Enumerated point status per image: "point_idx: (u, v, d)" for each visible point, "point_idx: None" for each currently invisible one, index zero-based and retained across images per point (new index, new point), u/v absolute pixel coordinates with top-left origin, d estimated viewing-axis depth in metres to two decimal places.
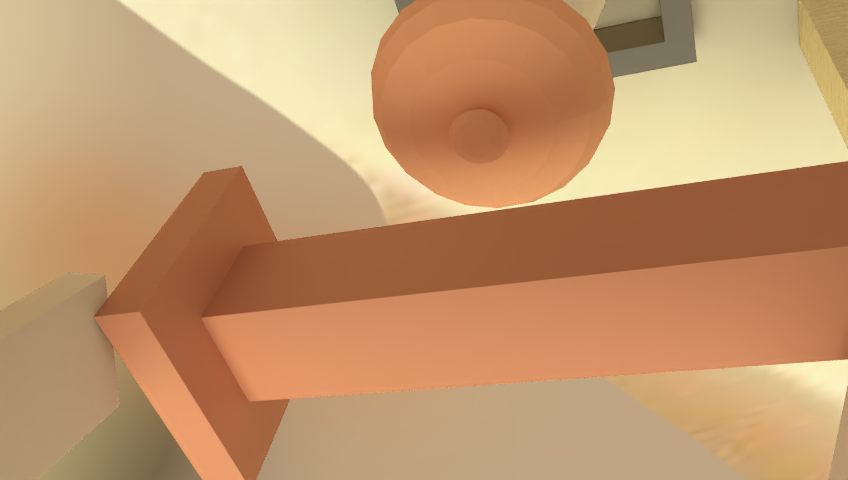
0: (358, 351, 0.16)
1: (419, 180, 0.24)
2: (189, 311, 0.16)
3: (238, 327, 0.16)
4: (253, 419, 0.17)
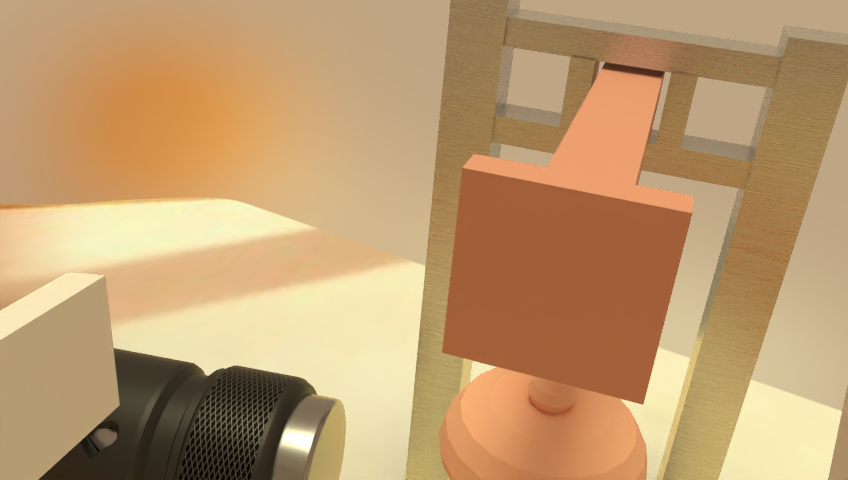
0: None
1: (584, 474, 0.24)
2: None
3: None
4: None
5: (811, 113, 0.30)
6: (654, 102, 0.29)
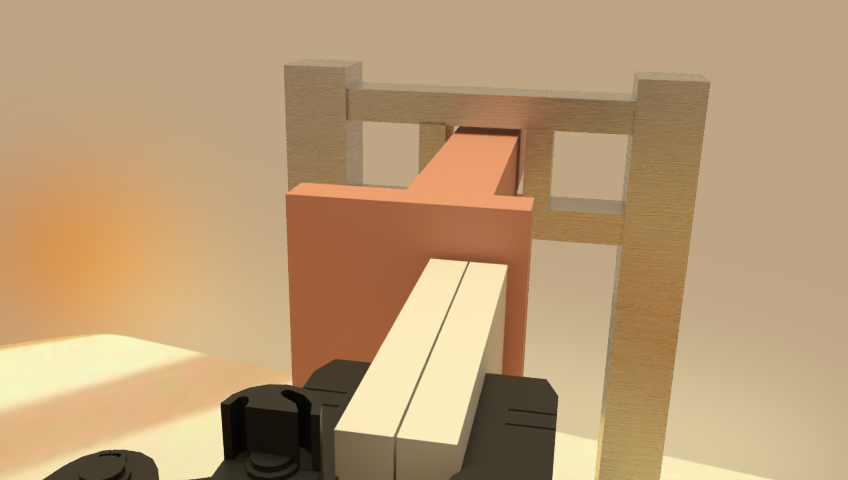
0: None
1: None
2: None
3: None
4: None
5: (675, 156, 0.29)
6: (512, 145, 0.28)
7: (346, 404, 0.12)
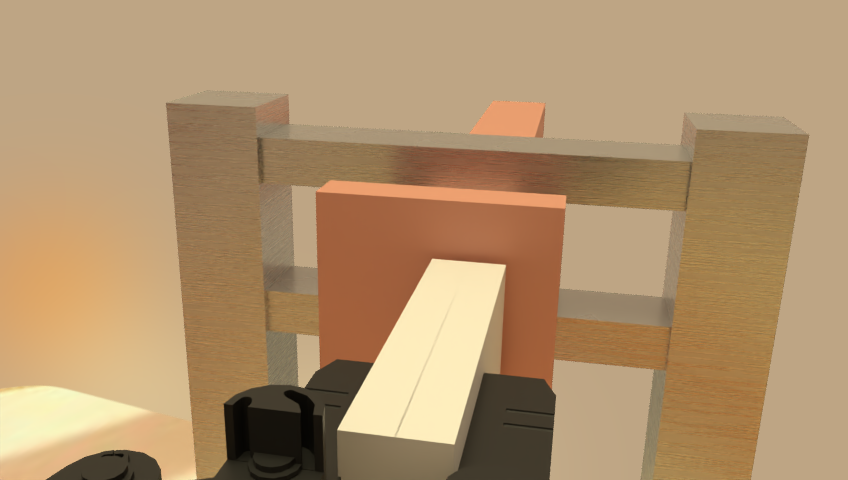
0: None
1: None
2: None
3: None
4: None
5: (750, 245, 0.19)
6: None
7: (348, 404, 0.12)
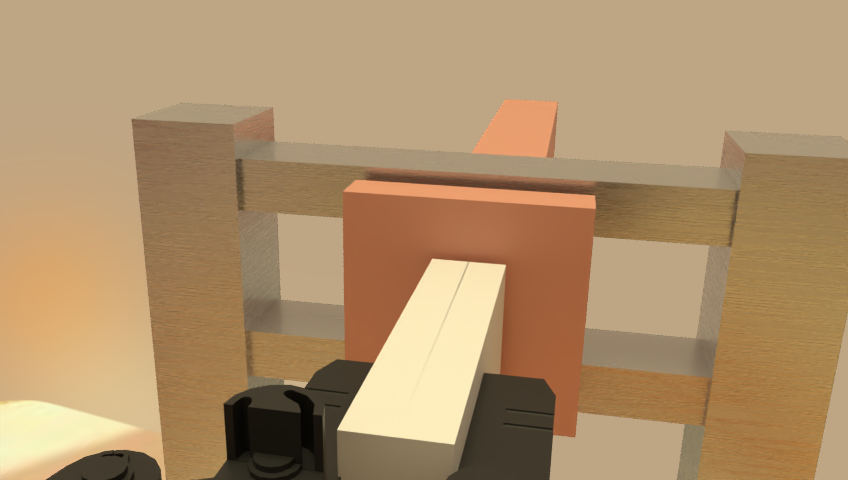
0: None
1: None
2: None
3: None
4: None
5: (805, 287, 0.16)
6: (547, 142, 0.28)
7: (348, 404, 0.12)
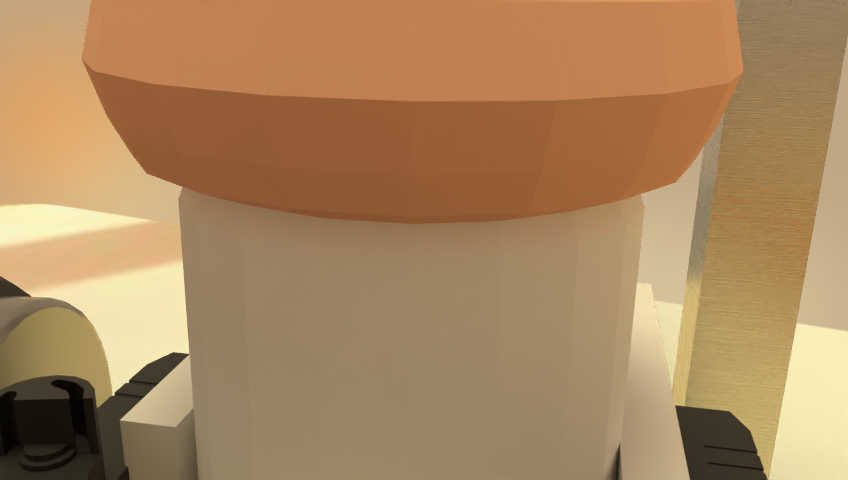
0: None
1: None
2: None
3: None
4: None
5: None
6: None
7: None
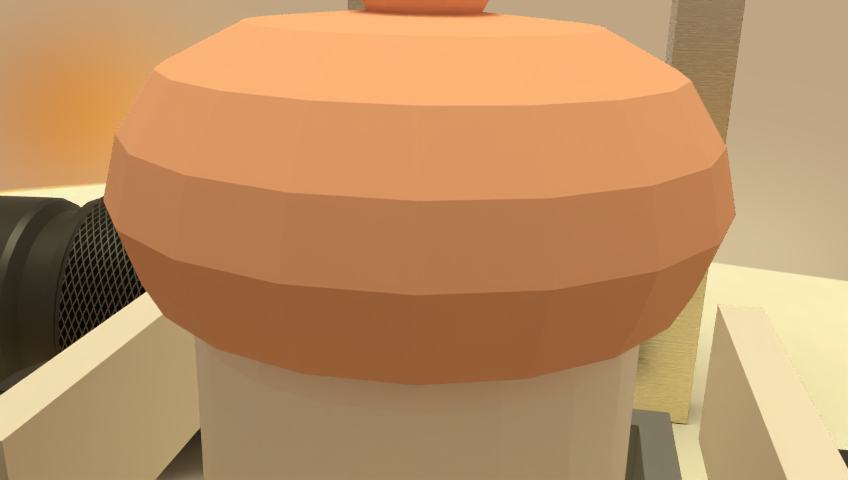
0: None
1: (549, 98, 0.07)
2: None
3: None
4: None
5: None
6: None
7: None
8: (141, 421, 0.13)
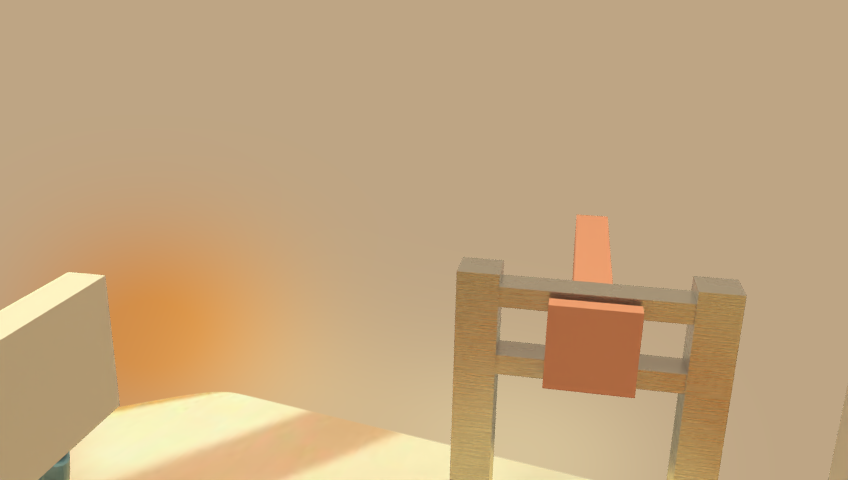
0: None
1: None
2: None
3: None
4: None
5: (722, 340, 0.43)
6: (609, 255, 0.55)
7: None
8: None
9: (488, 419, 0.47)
